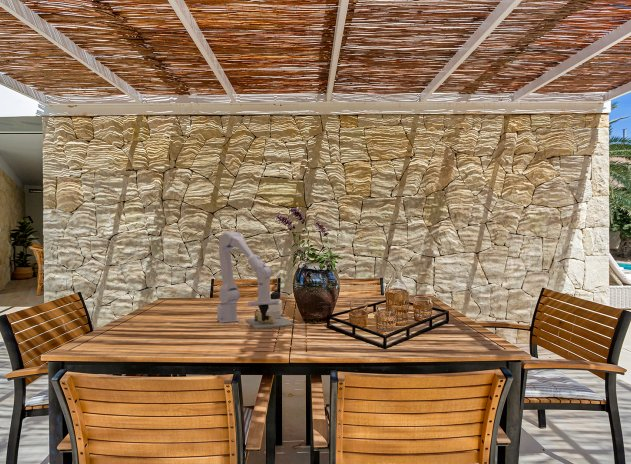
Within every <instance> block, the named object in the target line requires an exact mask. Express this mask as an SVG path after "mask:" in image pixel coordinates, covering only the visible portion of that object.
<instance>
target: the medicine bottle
mask: <svg viewBox="0 0 631 464" xmlns="http://www.w3.org/2000/svg"><path fill="white" fill-rule="evenodd" d="M270 300H278V301H279V305H268V306H269V308H268V310H267V311H280V316H282V315H283V300H281V293H280V292H279V291H270Z"/></svg>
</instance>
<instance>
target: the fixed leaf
mask: <svg viewBox="0 0 631 464" xmlns="http://www.w3.org/2000/svg"><path fill="white" fill-rule="evenodd" d="M255 311H259V308H258V309H255ZM260 314H261V311H260ZM266 315H271V316H275V318H280V316H281V315H280V311H267V312H266ZM254 318H255V321H258V316H255V315H254Z"/></svg>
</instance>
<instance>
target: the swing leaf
mask: <svg viewBox="0 0 631 464" xmlns="http://www.w3.org/2000/svg"><path fill="white" fill-rule="evenodd" d="M260 312H261V311H260V310H258V311H256V310H254V317H255V316H258V321H261V322H266V323H271V324H275V316H271V315H265V321H262V314H260Z"/></svg>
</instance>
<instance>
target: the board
mask: <svg viewBox="0 0 631 464" xmlns="http://www.w3.org/2000/svg"><path fill="white" fill-rule="evenodd" d="M245 322H247V324H249V325H250V326H251V327H252V328H254V330H259V329H272V328H283V327H294V326H295V323H294V322H292V321H290V320H288V319H287V318H286V317H284V316H282V315H280V318H275V324H271V323H266V322H261V321H255V317H254V318H246V319H245Z"/></svg>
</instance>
